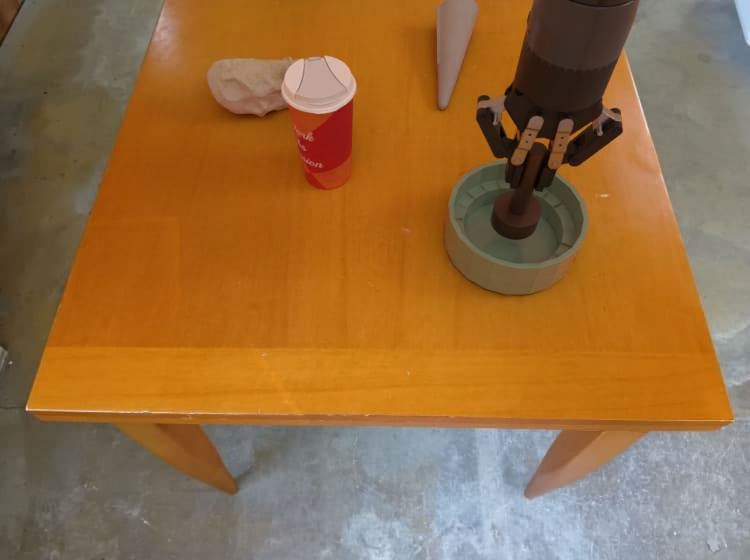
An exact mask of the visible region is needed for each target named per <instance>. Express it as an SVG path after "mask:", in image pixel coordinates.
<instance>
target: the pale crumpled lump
mask: <svg viewBox="0 0 750 560" xmlns="http://www.w3.org/2000/svg"><path fill="white" fill-rule="evenodd" d="M300 59H301V58H294V59H293V58H292V56H288V57H283V58H282V59H267V58H256V57H247V58H245V57H243V58H241V57H240V58H239V57H238V58H234V57H233V58H223V59H219V60H215V61H213V62H212V65H211V66H210V68H209V69H208V70H207V73H206V82H207V86H208V88H209V91H210V93H211V95H212V96H213V98H214V99H215V101H216V102H217V103H218V104H219V105H220V106H221V107H222V108H224V109H226V110H227V111H229V112H231V113H233V114H237V115H243V114H244V115H245V114H252V115H255V116H258V117H261V118H264V117H265V115H266V114H267V113H270V112H272V111H277V112H279V111H281V110H284V109H287V108H288V104H287V102H286V101H285V99H284V97H283V95H282V91H281V87H282V83H283V81H284V77H285V73H286V71H287V70H288V68H289V67H290V66H291V65H292V64H293V63H295V62H296V61H298V60H300ZM307 59H309V57H307V58H305V57H304V62H305V60H307ZM288 109H289V108H288Z"/></svg>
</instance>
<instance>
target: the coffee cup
mask: <svg viewBox="0 0 750 560" xmlns="http://www.w3.org/2000/svg"><path fill="white" fill-rule="evenodd" d="M323 56H324V57H320V56H311V57H308V59H307V60H305V62H304V59H305V57H304V58H303V57H302V58H299V59H300V60H298V61H296V62H295V63H293V64H292V65H291V66H290V67H289V68H288V70H287V71H286V73H285V77H284V81H283V83H282V87H281V91H282V95H283V97H284V99H285V101H286V102H287V104H288V111H289V115H290V120H291V125H292V128H293V132H294V137H295V140H296V144H297V148H298V151H299V152H298V153H299V157H300V161H301V164H302V169H303V172H304V175H305V178H306V180H307V181H308V183H309V184H310V185H311V186H313V187H314V188H317V189H320V190H325V191H327V190H335V189H339V188H340V187H342V186H343V185H345V184H346V183H347V182H348V181H349V179H350V178H351V174H352V163H353V161H352V160H353V133H354V132H353V125H354V96H355V95H356V92H357V81H356V78H355V77H354V75H353V74H352V71H351V69H350V67H349V66H348V65H347V64H346V63H345V62H344V61H342V60H340V59H339V58H336V57H334V56H330V55H323Z"/></svg>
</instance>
